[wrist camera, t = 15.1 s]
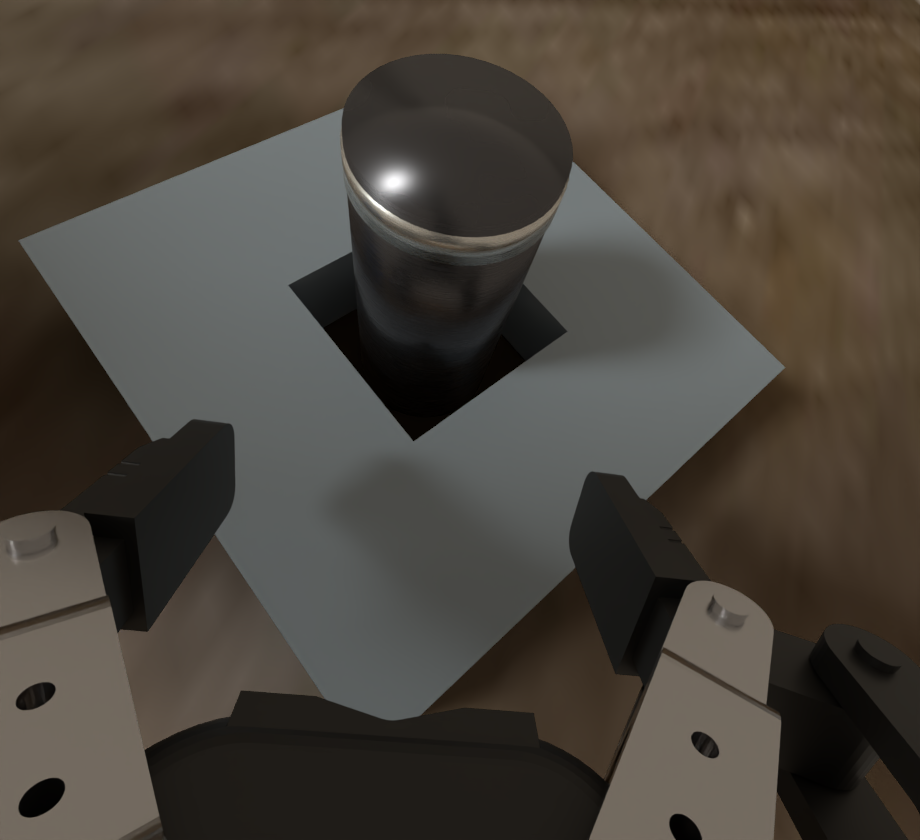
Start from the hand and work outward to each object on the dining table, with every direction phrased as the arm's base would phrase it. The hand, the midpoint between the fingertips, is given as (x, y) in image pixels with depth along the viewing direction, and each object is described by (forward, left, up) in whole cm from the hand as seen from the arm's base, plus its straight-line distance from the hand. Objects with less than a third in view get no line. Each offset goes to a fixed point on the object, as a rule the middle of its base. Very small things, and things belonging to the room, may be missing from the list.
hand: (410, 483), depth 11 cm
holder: (-5, +5, -6) cm, 9 cm away
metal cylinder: (-5, +5, -6) cm, 9 cm away
